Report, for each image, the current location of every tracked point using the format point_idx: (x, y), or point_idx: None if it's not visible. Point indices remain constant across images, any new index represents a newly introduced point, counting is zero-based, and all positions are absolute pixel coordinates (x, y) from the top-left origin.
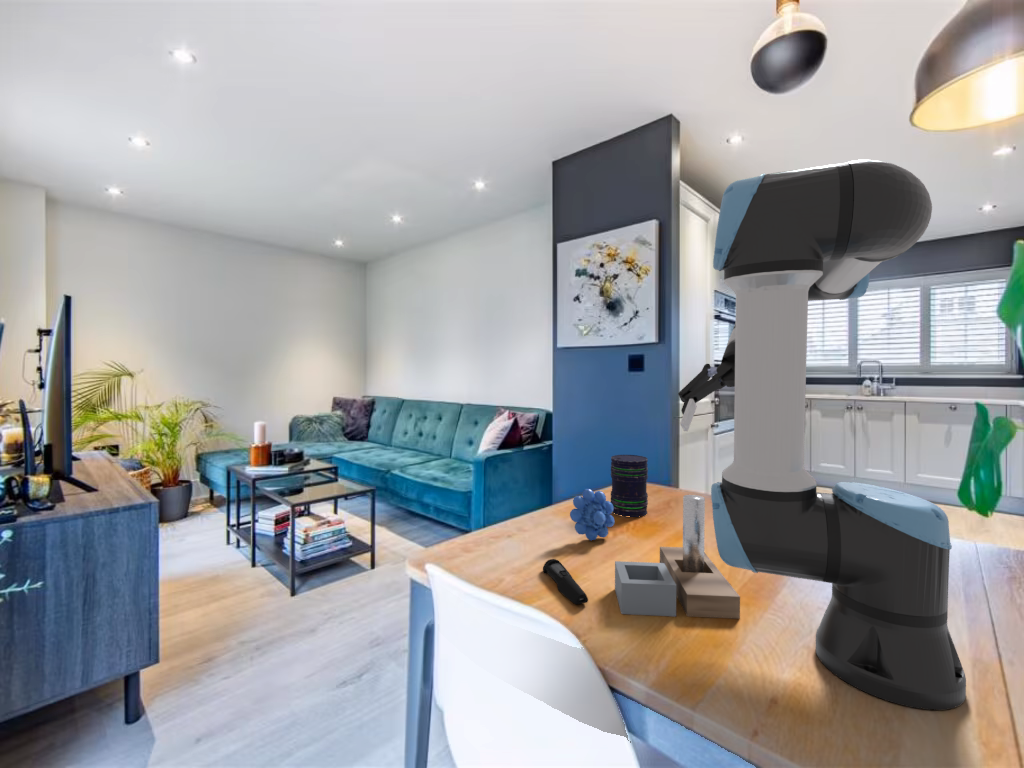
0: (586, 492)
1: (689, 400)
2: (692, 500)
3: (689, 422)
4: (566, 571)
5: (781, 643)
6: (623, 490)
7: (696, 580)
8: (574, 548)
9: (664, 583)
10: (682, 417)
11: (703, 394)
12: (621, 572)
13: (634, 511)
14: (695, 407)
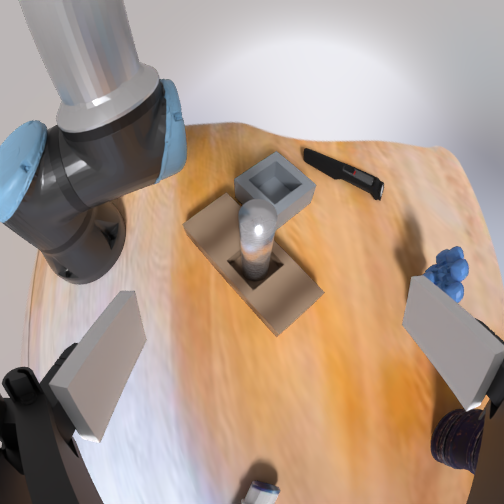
0: (460, 259)
1: (497, 341)
2: (251, 200)
3: (421, 335)
4: (353, 176)
5: (148, 221)
6: (476, 416)
7: (233, 227)
8: (413, 258)
9: (245, 174)
10: (439, 288)
11: (491, 449)
12: (292, 167)
13: (443, 426)
14: (464, 394)
